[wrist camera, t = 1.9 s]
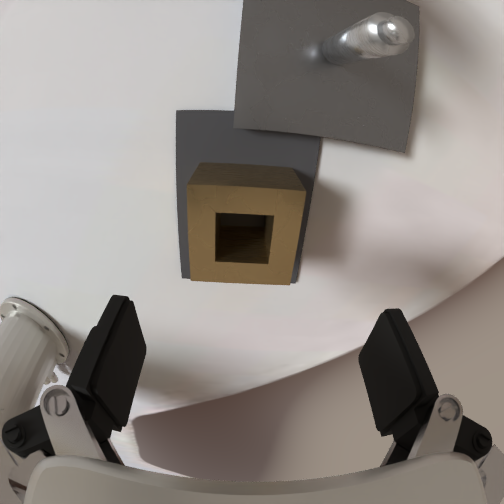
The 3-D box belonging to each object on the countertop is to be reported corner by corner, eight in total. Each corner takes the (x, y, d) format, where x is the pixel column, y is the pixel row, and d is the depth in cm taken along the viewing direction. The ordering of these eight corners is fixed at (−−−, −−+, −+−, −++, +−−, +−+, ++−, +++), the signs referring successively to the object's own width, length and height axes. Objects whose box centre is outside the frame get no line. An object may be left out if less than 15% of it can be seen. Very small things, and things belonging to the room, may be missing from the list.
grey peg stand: (392, 146, 18) (477, 195, 10) (234, 124, 18) (224, 154, 9) (405, 11, 12) (493, -11, 4) (247, -26, 11) (250, -103, 3)
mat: (294, 281, 25) (295, 283, 25) (182, 276, 24) (181, 278, 24) (321, 119, 18) (322, 120, 17) (177, 110, 17) (176, 110, 17)
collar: (281, 246, 23) (289, 285, 18) (200, 242, 22) (190, 280, 18) (292, 167, 19) (306, 191, 15) (200, 162, 19) (186, 184, 15)
